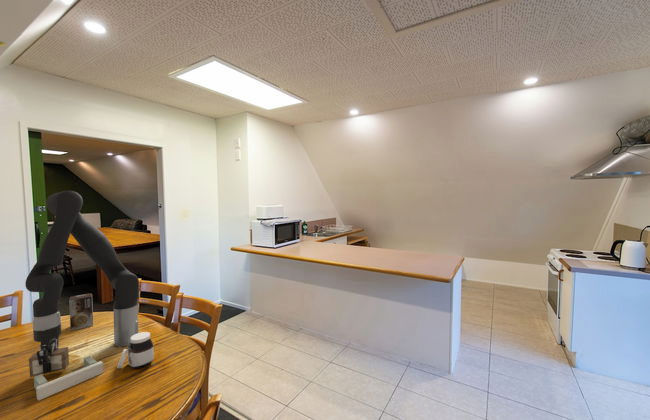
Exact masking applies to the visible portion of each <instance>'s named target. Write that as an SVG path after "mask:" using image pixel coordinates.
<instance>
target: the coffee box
mask: <svg viewBox="0 0 650 420" xmlns="http://www.w3.org/2000/svg"><path fill="white" fill-rule="evenodd" d="M68 303H69V305H68V306H69V322H70V323H69V324H70V325H69V327H70V331H75V330H80V329H85V328H89V327H93V326H94V311H93V310H94V309H93V307H94V306H93V293H92V292H91V293H84V294H79V295H73V296H70V297H69V300H68Z"/></svg>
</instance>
